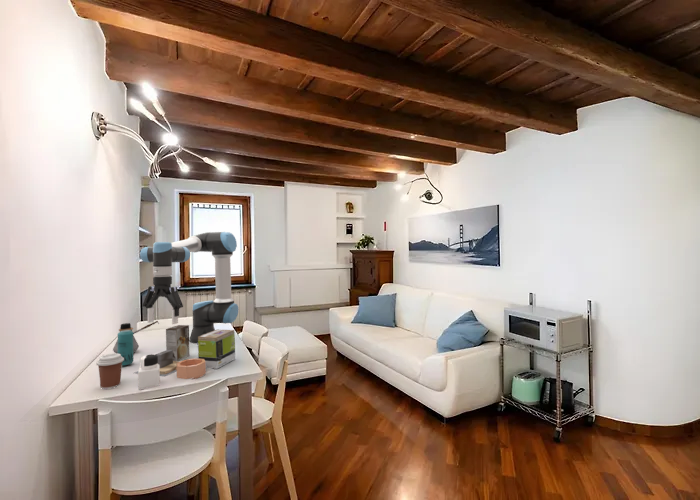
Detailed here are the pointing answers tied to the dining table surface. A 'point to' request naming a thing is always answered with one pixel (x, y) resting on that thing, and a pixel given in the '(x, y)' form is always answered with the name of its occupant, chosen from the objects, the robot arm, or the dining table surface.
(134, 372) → the mat
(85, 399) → the dining table surface
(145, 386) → the medicine bottle
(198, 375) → the bowl
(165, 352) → the lid
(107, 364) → the coffee cup
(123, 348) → the beverage bottle
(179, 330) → the coffee box
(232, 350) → the tea box
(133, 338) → the coffee pot
